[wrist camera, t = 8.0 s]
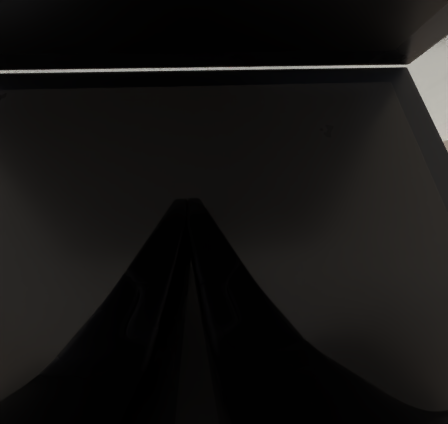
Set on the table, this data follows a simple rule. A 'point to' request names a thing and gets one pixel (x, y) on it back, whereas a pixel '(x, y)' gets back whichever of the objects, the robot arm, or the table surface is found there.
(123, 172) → the laptop screen
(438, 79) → the table surface
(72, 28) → the laptop
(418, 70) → the table surface
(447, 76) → the table surface
